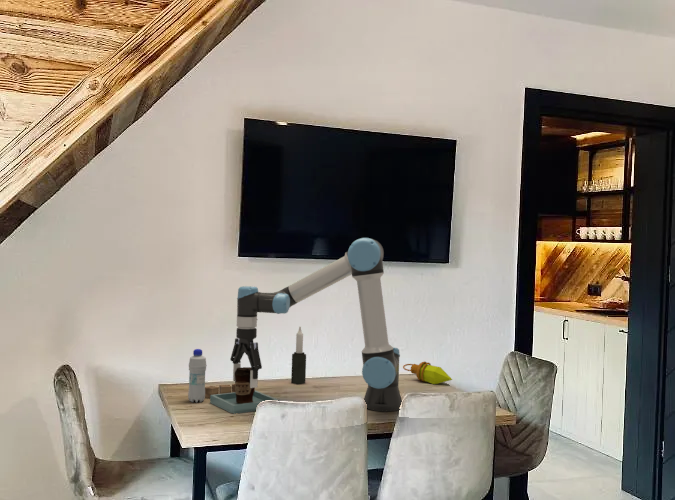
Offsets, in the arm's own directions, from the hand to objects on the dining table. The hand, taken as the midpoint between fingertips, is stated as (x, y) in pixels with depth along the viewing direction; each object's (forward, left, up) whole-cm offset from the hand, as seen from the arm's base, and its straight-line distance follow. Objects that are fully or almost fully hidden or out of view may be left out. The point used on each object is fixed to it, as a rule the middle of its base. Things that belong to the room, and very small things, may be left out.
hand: (244, 384), depth 253 cm
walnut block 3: (+18, -7, -8) cm, 21 cm away
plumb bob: (0, -94, -8) cm, 94 cm away
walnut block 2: (+18, -1, -8) cm, 20 cm away
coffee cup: (0, 0, -7) cm, 7 cm away
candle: (+25, -40, -8) cm, 48 cm away
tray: (0, 0, -8) cm, 8 cm away
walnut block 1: (+18, +5, -8) cm, 20 cm away
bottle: (+14, +13, -8) cm, 21 cm away
